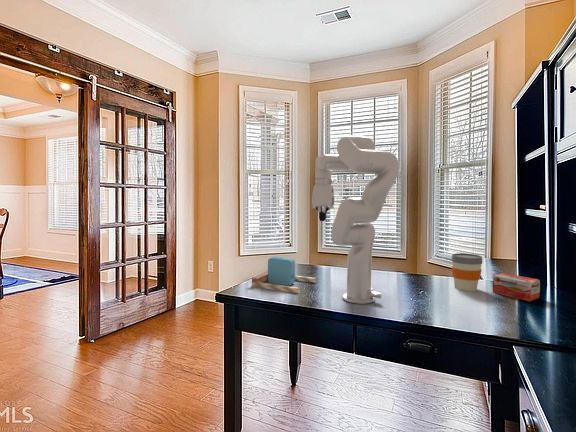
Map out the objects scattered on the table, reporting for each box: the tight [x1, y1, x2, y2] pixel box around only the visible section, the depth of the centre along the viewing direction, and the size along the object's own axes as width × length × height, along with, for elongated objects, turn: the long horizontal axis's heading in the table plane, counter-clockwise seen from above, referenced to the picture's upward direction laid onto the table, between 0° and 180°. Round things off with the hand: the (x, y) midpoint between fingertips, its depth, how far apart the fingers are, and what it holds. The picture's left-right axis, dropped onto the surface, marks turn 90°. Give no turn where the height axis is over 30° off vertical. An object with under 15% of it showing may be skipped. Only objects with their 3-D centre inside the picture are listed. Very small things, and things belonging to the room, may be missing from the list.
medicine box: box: [492, 272, 541, 302], centre depth 152 cm, size 15×8×8 cm, turn 32°
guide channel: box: [251, 270, 317, 294], centre depth 166 cm, size 23×21×4 cm
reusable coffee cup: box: [451, 252, 483, 292], centre depth 162 cm, size 13×13×15 cm
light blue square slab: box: [267, 256, 296, 286], centre depth 167 cm, size 12×4×12 cm, turn 64°
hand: (322, 220), depth 172 cm, fingers closed
